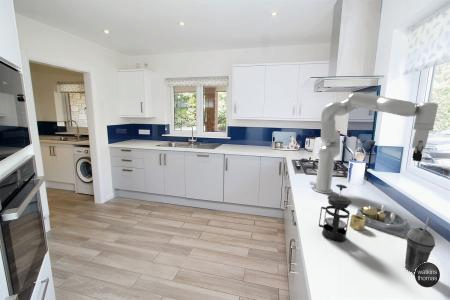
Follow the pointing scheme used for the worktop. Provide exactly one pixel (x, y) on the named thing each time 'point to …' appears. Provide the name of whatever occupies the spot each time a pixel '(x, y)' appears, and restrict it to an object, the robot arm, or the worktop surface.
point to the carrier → (383, 220)
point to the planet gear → (357, 222)
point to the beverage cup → (418, 247)
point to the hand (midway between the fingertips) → (416, 159)
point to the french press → (336, 218)
